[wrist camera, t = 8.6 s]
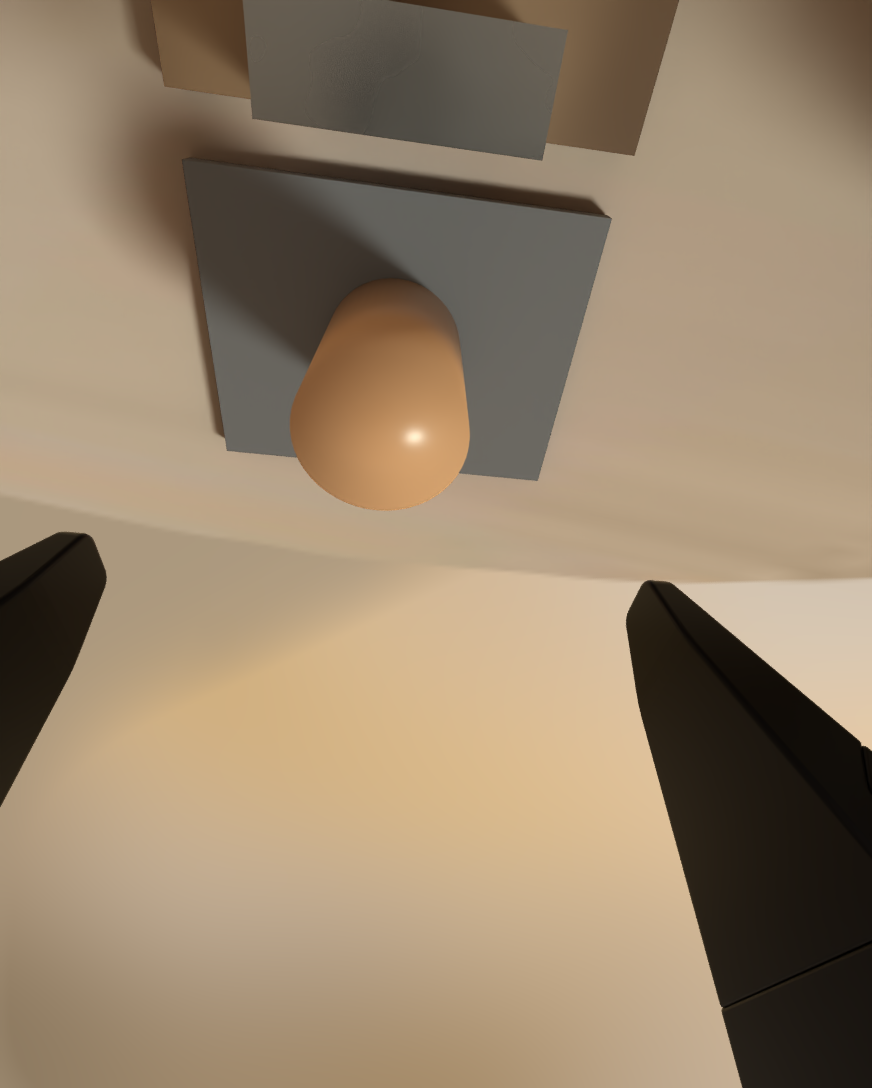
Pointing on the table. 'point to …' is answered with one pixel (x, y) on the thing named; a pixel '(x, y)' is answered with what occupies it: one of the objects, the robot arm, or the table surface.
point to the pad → (378, 253)
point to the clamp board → (565, 3)
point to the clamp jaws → (404, 73)
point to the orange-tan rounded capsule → (384, 399)
